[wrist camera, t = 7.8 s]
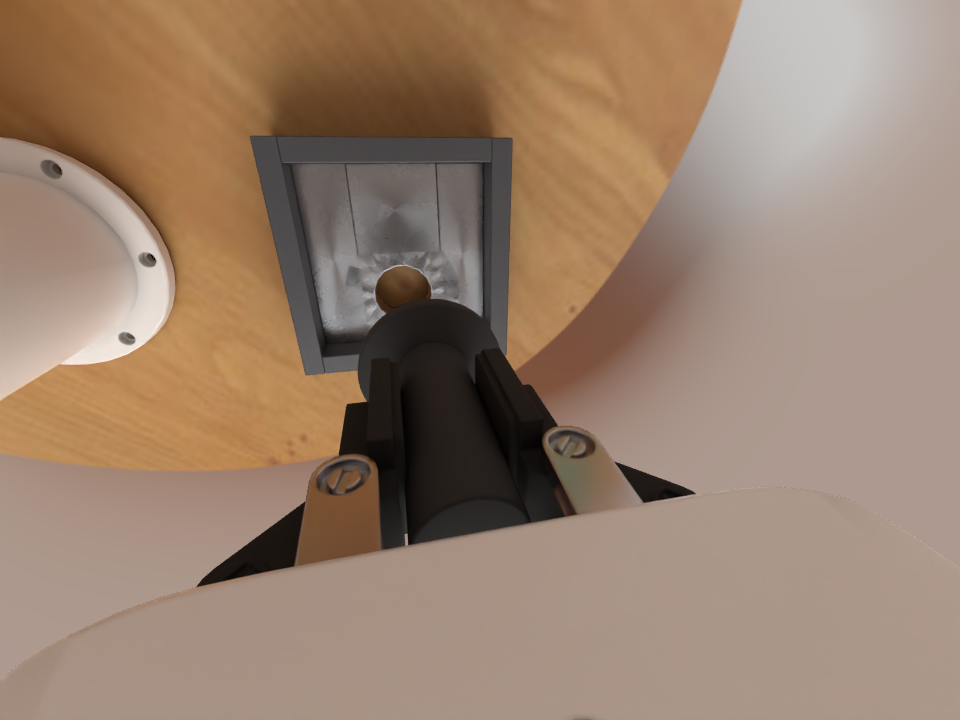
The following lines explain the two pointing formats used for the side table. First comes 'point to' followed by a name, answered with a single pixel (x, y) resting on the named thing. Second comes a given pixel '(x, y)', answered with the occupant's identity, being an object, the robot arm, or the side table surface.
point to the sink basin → (284, 150)
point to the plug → (444, 421)
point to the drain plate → (390, 235)
